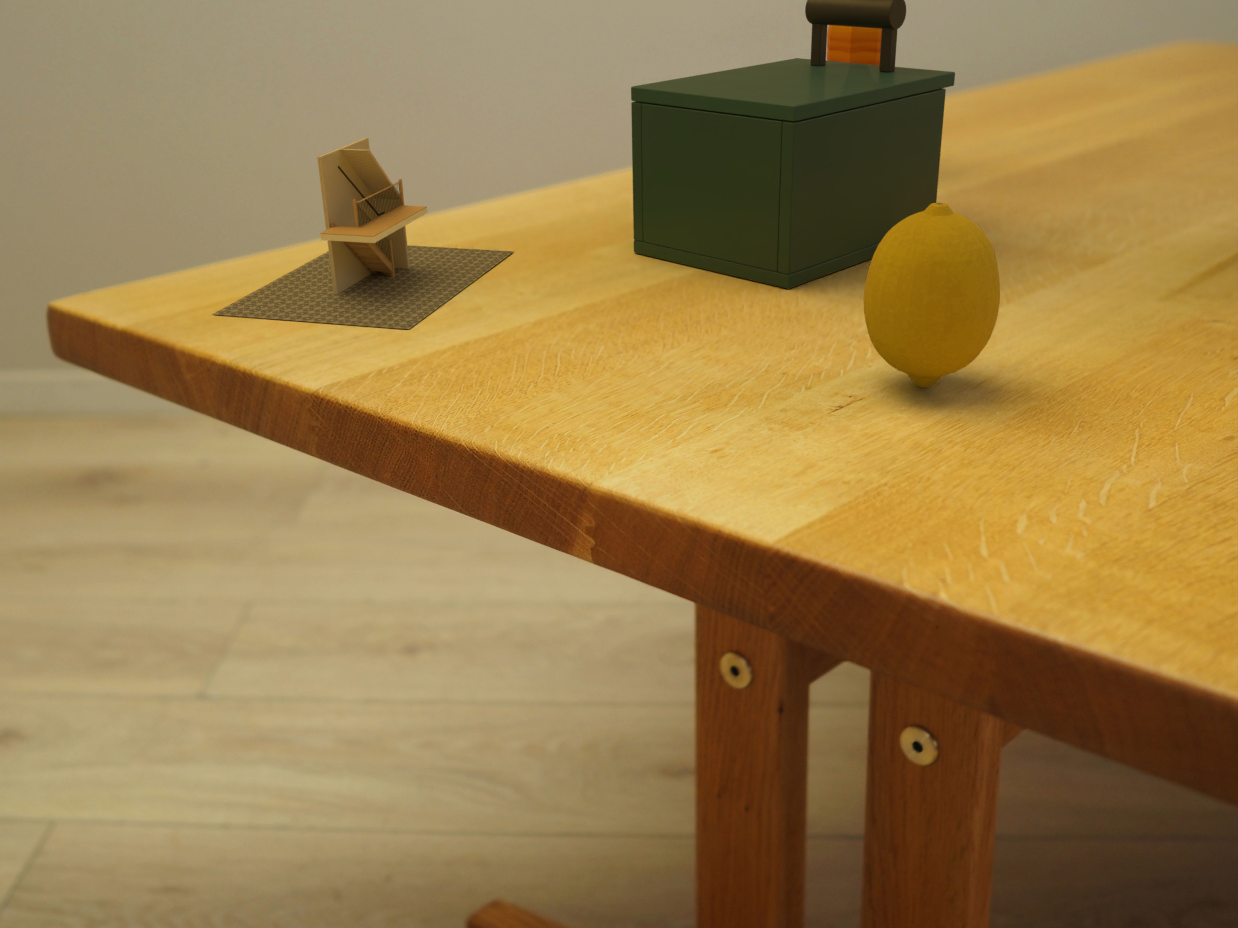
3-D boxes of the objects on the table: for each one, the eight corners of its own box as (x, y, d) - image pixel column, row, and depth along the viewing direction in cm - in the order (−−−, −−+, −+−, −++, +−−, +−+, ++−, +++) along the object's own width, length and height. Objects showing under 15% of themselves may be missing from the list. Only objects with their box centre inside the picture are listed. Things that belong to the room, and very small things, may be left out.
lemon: (837, 394, 54) (847, 209, 50) (890, 357, 58) (902, 183, 55) (961, 420, 51) (981, 225, 48) (1008, 379, 55) (1029, 197, 52)
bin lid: (796, 70, 82) (799, -12, 79) (954, 86, 74) (962, -4, 72) (630, 101, 72) (628, 8, 69) (794, 122, 64) (798, 18, 62)
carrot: (831, 163, 98) (841, -44, 92) (893, 168, 96) (908, -44, 90) (810, 176, 94) (820, -40, 88) (876, 181, 92) (890, -40, 86)
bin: (783, 208, 85) (787, 73, 81) (933, 236, 77) (946, 88, 74) (633, 253, 75) (630, 102, 72) (788, 289, 68) (794, 123, 64)
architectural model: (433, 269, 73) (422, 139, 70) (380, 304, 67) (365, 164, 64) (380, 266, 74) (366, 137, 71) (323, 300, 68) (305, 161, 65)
